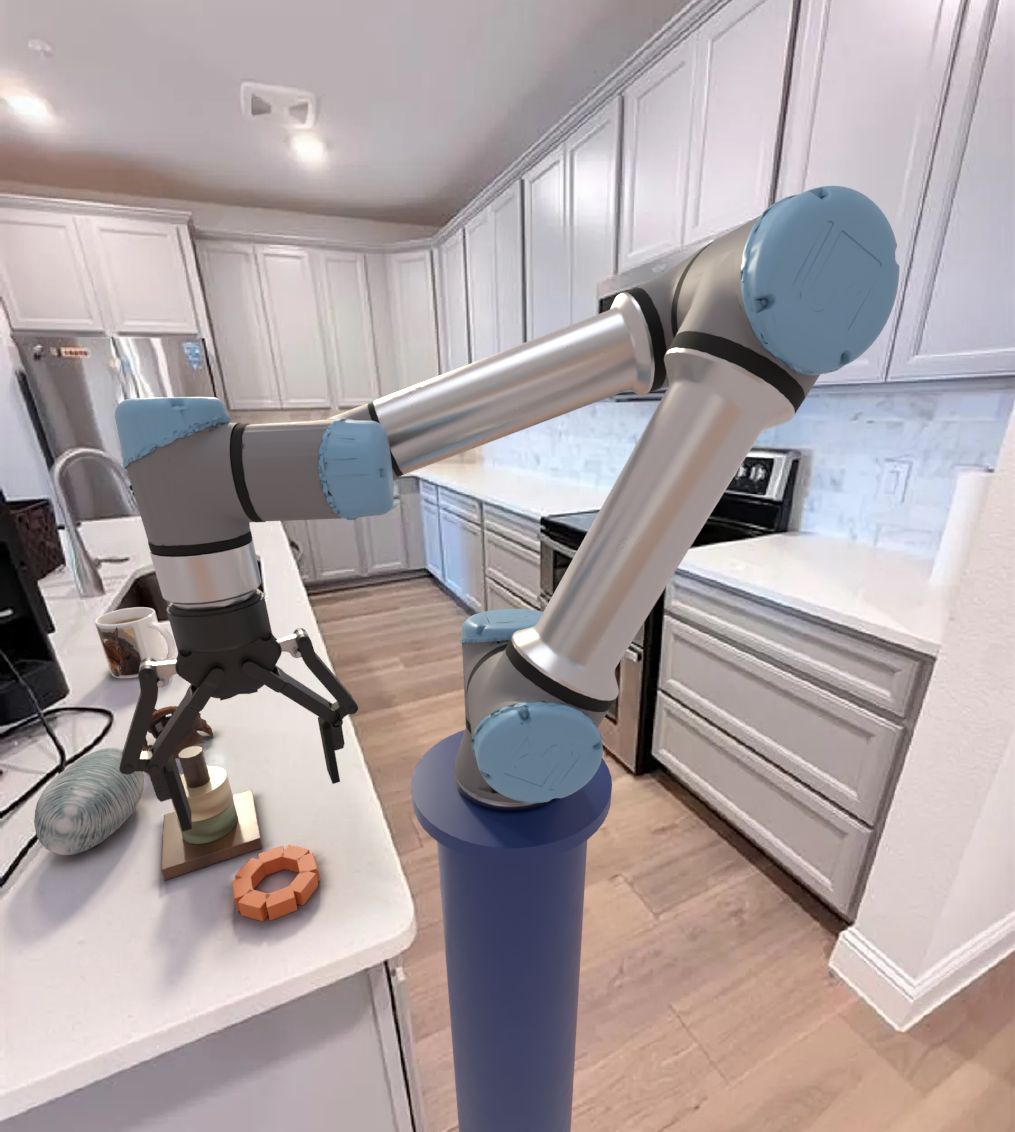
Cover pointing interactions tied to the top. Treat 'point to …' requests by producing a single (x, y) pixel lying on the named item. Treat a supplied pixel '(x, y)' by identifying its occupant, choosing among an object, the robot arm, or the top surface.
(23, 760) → the top surface
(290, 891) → the terracotta ring
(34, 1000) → the top surface
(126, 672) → the mug
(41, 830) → the streaked grey ellipsoid
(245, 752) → the top surface
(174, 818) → the stacking post
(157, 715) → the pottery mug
